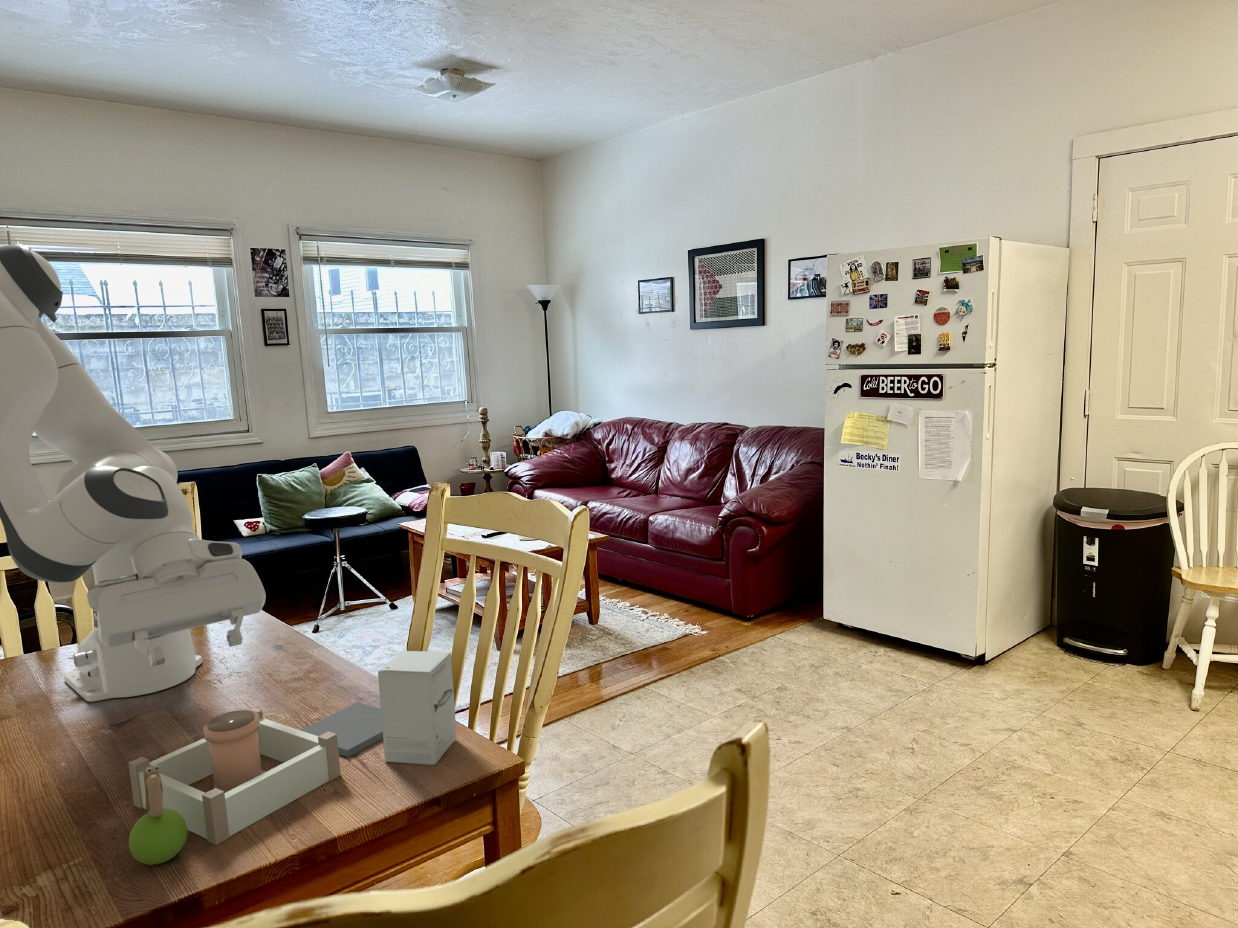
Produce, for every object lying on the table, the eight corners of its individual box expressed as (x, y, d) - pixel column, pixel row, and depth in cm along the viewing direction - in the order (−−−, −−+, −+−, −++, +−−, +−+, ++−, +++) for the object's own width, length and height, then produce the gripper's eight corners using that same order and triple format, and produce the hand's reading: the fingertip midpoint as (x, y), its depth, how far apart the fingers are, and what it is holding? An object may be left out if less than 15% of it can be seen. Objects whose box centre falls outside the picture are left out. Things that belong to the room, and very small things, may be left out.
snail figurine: (136, 887, 83) (121, 776, 82) (129, 857, 88) (115, 752, 87) (195, 865, 86) (182, 758, 85) (185, 838, 92) (172, 736, 90)
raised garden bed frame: (134, 805, 99) (128, 762, 98) (259, 745, 113) (254, 707, 112) (216, 845, 90) (210, 798, 89) (340, 774, 104) (336, 733, 103)
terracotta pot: (201, 795, 100) (192, 725, 99) (247, 771, 106) (238, 704, 104) (232, 808, 97) (222, 736, 96) (277, 783, 102) (269, 714, 101)
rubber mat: (295, 739, 114) (294, 732, 114) (357, 708, 124) (357, 702, 123) (348, 757, 109) (347, 750, 108) (409, 723, 118) (409, 716, 118)
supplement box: (436, 766, 105) (429, 672, 104) (383, 762, 107) (375, 669, 105) (459, 739, 112) (452, 650, 111) (408, 736, 114) (401, 648, 112)
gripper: (84, 571, 106) (108, 663, 100) (250, 541, 119) (280, 621, 113) (83, 597, 110) (106, 688, 104) (244, 566, 123) (273, 644, 117)
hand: (198, 653), depth 108 cm, fingers open, 8 cm apart
